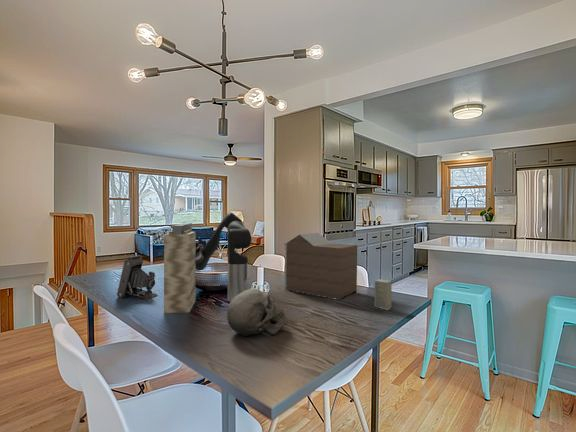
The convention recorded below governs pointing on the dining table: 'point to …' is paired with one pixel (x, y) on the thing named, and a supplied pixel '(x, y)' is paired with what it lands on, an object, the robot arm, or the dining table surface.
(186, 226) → the bar
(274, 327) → the skull
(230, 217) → the robot arm
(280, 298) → the dining table surface
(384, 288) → the skincare box
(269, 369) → the dining table surface
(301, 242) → the building model
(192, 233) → the post
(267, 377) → the dining table surface
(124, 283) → the camera
